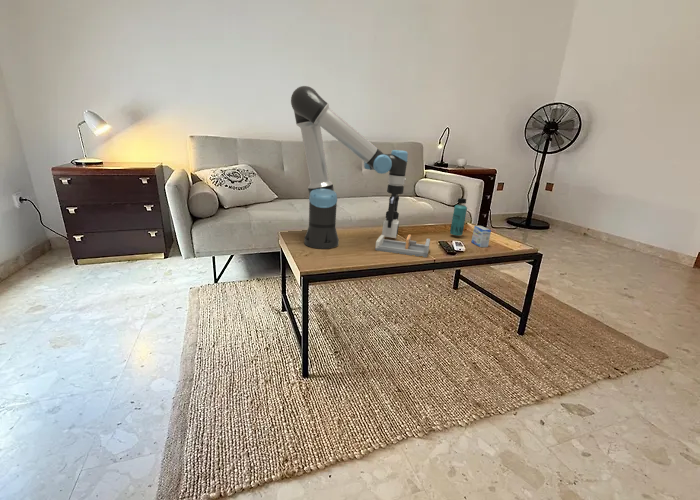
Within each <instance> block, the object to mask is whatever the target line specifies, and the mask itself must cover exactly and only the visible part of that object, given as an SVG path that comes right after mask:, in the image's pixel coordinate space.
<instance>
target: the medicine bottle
mask: <svg viewBox="0 0 700 500" xmlns="http://www.w3.org/2000/svg"><path fill="white" fill-rule="evenodd" d="M387 215H388V210H387V211H386V212H385V218H384V219H383V223H382V229H381V230H382V231H381V235H385V236H384V238H392V239H397V237H398V233H399V226H400V221H399V215H400V214H399V212H398V211H397V212H396V211H394V217H393V227H392V234H391V235H390V234H386V228H387V220H386V219H387Z"/></svg>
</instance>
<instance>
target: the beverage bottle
mask: <svg viewBox="0 0 700 500" xmlns="http://www.w3.org/2000/svg"><path fill="white" fill-rule="evenodd" d="M457 203H458V204H456V205H454V207H453V213H452V219H451V225H450V229H449V231H450V232H449V233H450V234H451V235H453V236H458V237H459V236H460V237H461V236H463V234H464V227H465V222H466V217H467V210H468V207H467V205H464V204H466V203H467V199H466V198H460V197H459V198H458V199H457Z"/></svg>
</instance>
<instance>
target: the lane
mask: <svg viewBox="0 0 700 500" xmlns="http://www.w3.org/2000/svg"><path fill="white" fill-rule="evenodd" d="M384 236H385V235H382V234H380V236H378V238H377V240H376V241H375V251H376V252H377V251H378V252H379V251H380V252H385V253H386V252H387V253H391V252H392V254H398V253H399V254H400V255H405V254H406V256H412V255H415V256H414V257H419V256H423V257H422V258H426V257H427V258H428V254H429V250H430V243H431V238H426V240H425V243H424V244H422V243H421V244H420V243H416V245H415V244H410V246H409V248H408V249H405V246H406V241H399V240H393V239H385V237H384Z"/></svg>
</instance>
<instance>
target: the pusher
mask: <svg viewBox="0 0 700 500" xmlns="http://www.w3.org/2000/svg"><path fill="white" fill-rule="evenodd" d="M411 237H412V235H411V234H408V235H407V237H406V240H405V242H406V246H405V249H408V248H409V246H410V244H415V245H416V244H417V240H411V239H412V238H411Z"/></svg>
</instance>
